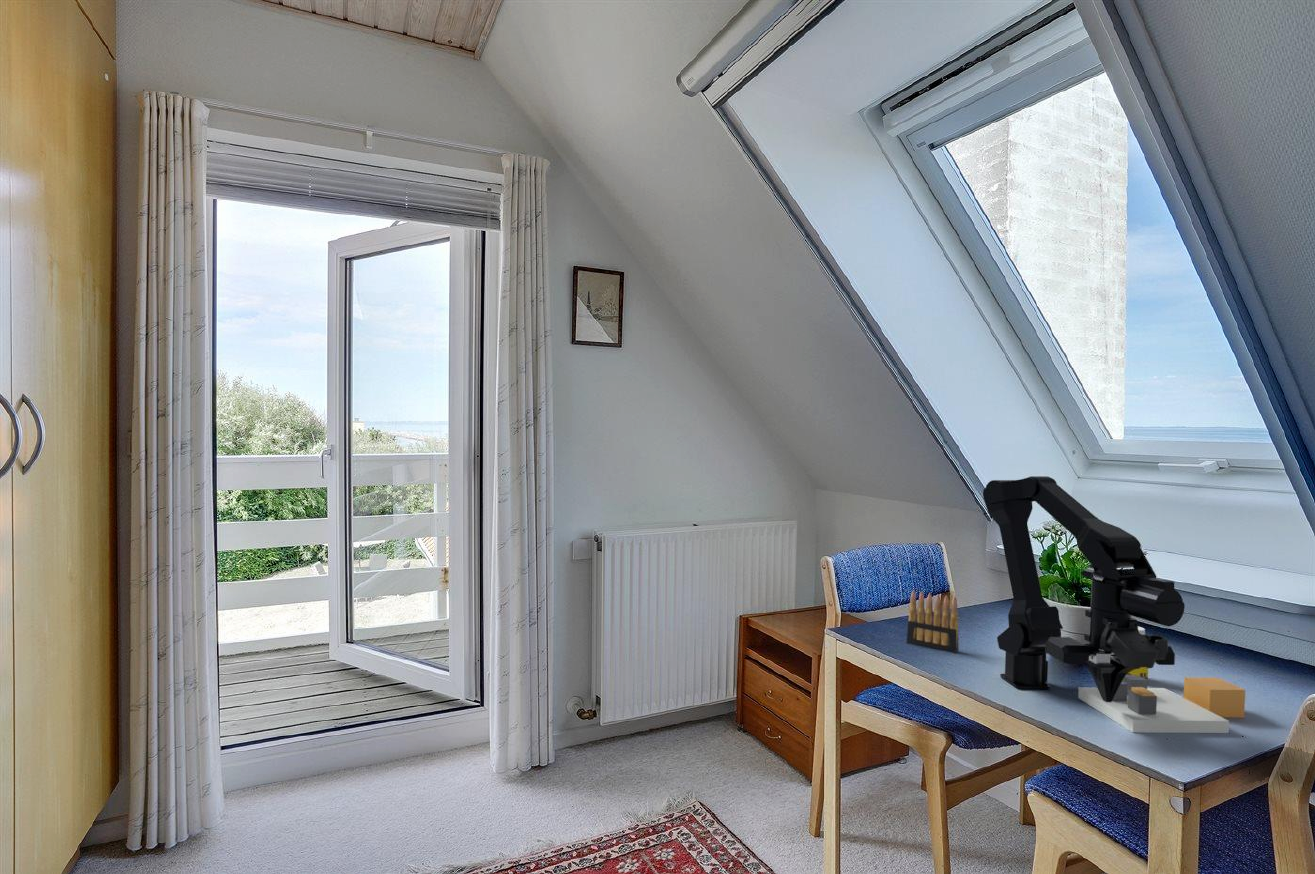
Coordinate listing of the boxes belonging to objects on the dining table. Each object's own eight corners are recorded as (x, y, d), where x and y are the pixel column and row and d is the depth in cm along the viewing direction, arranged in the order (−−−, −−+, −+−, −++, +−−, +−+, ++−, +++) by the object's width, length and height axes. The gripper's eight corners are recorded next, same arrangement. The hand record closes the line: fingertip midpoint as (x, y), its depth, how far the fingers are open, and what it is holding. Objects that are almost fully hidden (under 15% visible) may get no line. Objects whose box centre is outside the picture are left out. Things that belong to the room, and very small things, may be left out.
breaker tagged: (1138, 713, 116) (1139, 692, 116) (1127, 707, 119) (1128, 686, 119) (1156, 714, 116) (1157, 693, 116) (1144, 707, 119) (1145, 687, 119)
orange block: (1209, 717, 121) (1210, 689, 121) (1183, 703, 127) (1184, 677, 126) (1244, 717, 121) (1245, 689, 121) (1216, 703, 127) (1217, 677, 127)
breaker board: (1132, 732, 114) (1134, 701, 114) (1078, 697, 128) (1079, 670, 128) (1228, 733, 115) (1229, 702, 115) (1163, 698, 129) (1165, 671, 129)
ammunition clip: (958, 651, 153) (960, 596, 153) (956, 653, 152) (958, 598, 151) (908, 641, 160) (910, 588, 159) (906, 643, 158) (907, 589, 158)
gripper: (1087, 622, 109) (1083, 721, 109) (1204, 623, 109) (1200, 722, 110) (1045, 602, 120) (1041, 693, 120) (1151, 604, 120) (1147, 694, 121)
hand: (1106, 701), depth 118 cm, fingers closed
